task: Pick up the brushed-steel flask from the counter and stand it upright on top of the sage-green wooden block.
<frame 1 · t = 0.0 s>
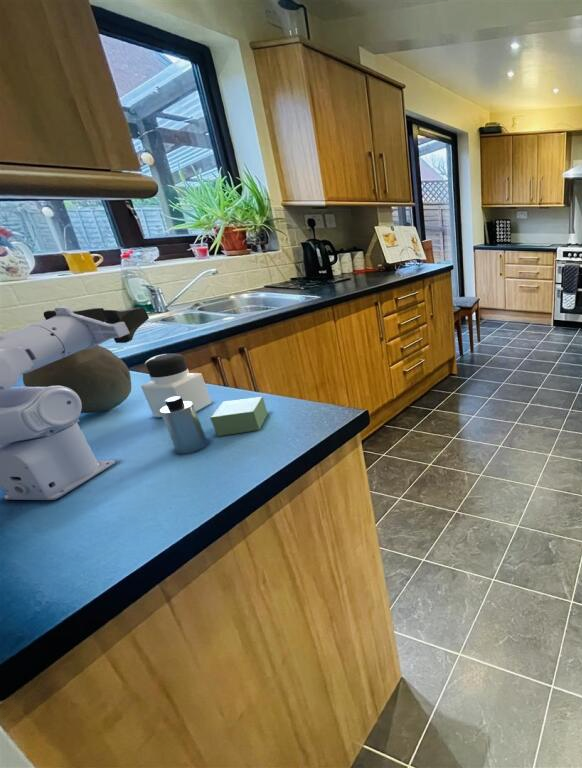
hand: (124, 313, 72), 22 cm above the counter, tool horizontal, fingers open, 7 cm apart
block: (243, 424, 78), on the counter
medicine bottle: (184, 410, 84), on the counter
flask: (192, 446, 71), on the counter
cantaloupe: (98, 413, 84), on the counter
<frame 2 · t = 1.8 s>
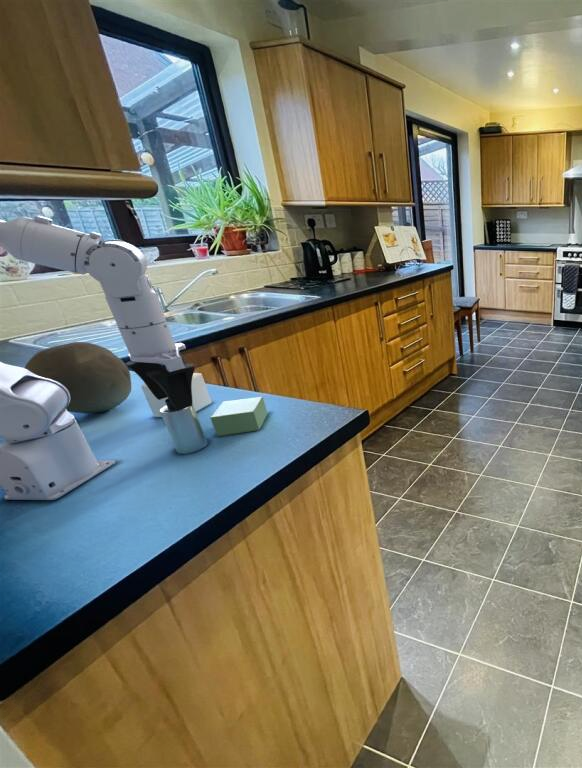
hand: (174, 402, 67), 9 cm above the counter, tool pointing down, fingers open, 7 cm apart
nothing on the counter moved.
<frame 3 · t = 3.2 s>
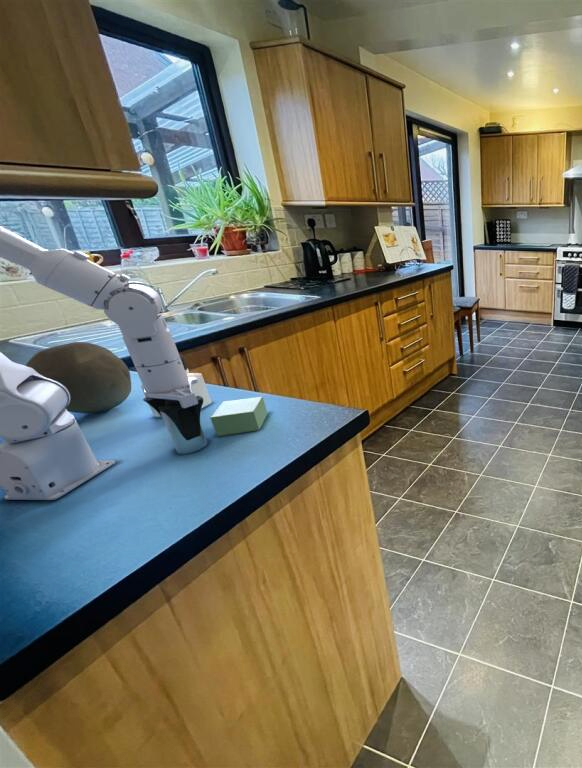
hand: (187, 433, 70), 3 cm above the counter, tool pointing down, fingers closed on flask, 4 cm apart
flask: (192, 446, 71), on the counter, touching gripper
everything else where it was.
when the fingers open (7 cm above the counter, at t = 6.9 s): flask stays where it is, resting on block.
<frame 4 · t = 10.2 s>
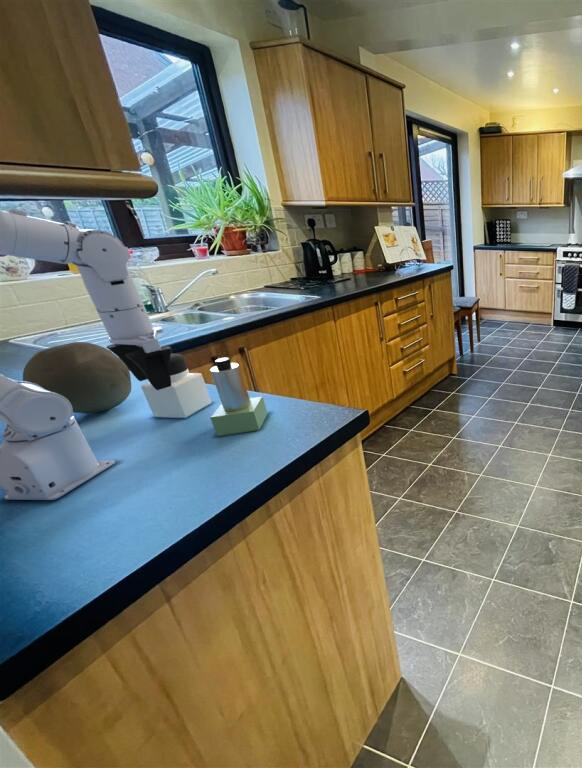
hand: (154, 383, 71), 10 cm above the counter, tool pointing down, fingers open, 7 cm apart
block: (243, 424, 78), on the counter, touching flask
flask: (237, 406, 76), point 4 cm above the counter, touching block
everything else where it was.
at the end: flask 0.0 cm off-centre on the block, point 4.0 cm above the block's base; flask tilted 0°; block moved 0.0 cm from its start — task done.
